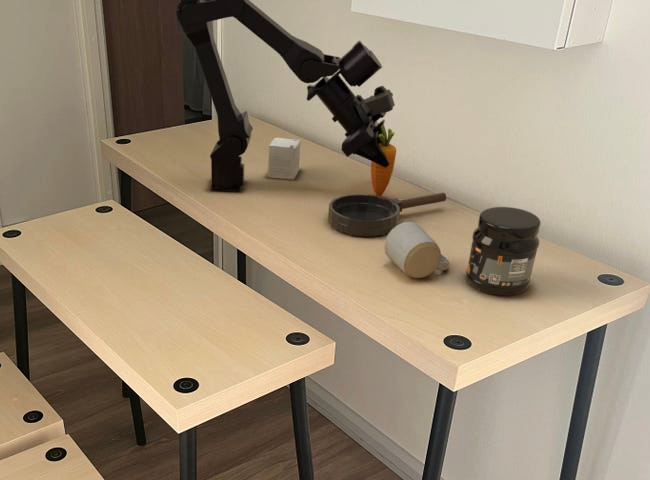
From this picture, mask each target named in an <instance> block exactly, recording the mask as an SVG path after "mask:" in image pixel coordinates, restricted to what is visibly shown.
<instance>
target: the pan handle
mask: <svg viewBox="0 0 650 480" xmlns="http://www.w3.org/2000/svg"><path fill="white" fill-rule="evenodd" d="M389 200H391V201H392V202H394V203H396V204H397V205H398V206H399V208H400V213H402V212H403V210H405V209H410V208H416V207H421V206H426V205H432V204H437V203H443V202H446V201H447V194H446V193H445V192H439V193H432V194H427V195H421V196H416V197H410V198H405V199H398V198H395V197H394V198H389Z"/></svg>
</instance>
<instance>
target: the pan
mask: <svg viewBox="0 0 650 480" xmlns="http://www.w3.org/2000/svg"><path fill="white" fill-rule="evenodd" d="M327 213H328V214H327V223H328V224H329V225H330V227H331V228H333V229H334V230H336V231H337V232H340V233H342V234H345V235H349V236H353V237H363V238H368V237H369V238H371V237H372V238H373V237H380V236H384V235H388V234H389V233H390V231H391V230H392V229H393V228H394V227H396V226H397V225H399V222H400V221H399V220H400V214H401V212H400V208H399V206H398V205H397V204H396V203H394V202H392V201H391V200H390V198H387V197H383V196H376V194H369V193H353V194H352V193H351V194H344V195H341V196H338V197H335V198H333V199H332V200H331V201H330V202H329V203H328V212H327Z"/></svg>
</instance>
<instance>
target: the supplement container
mask: <svg viewBox="0 0 650 480" xmlns="http://www.w3.org/2000/svg"><path fill="white" fill-rule="evenodd" d="M541 224H542V223H541V219H540V218H539V217H538V216H537V214H534V213H532V212H530V211H528V210H525V209H521V208H516V207H510V206H495V207H489V208H486V209H484V210H483V211H481V212H480V213H479V217H478V221H477V227H476V228H475V229H474V231H473V232H472V242H471V247H470V253H469V257H468V263H467V268H466V272H465V278H466V280H467V282H468V283H469V284H470V285H471V286H472V287H473V288H475V289H477V290H478V291H480V292H483V293H486V294H489V295H495V296H514V295H518V294H520V293H522V292H524V291H526V290H527V288H529V286H530V284H531V280H532V279H531V278H532V274H533V269H534V264H535V261H536V256H537V252H538V248H539V247H540V243H541V241H540V237H539V236H538V235H539V232H540V228H541Z"/></svg>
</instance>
